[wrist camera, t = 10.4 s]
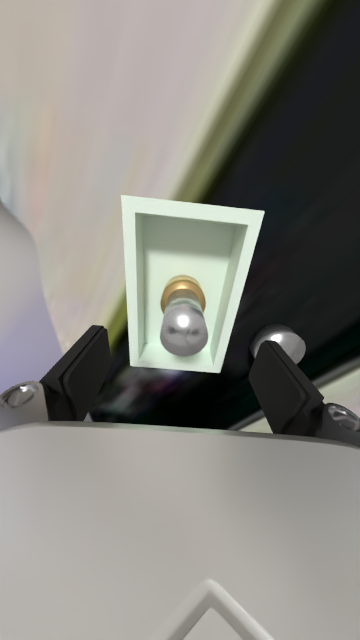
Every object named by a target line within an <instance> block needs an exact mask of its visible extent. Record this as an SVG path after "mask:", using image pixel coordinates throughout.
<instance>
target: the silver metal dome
mask: <svg viewBox="0 0 360 640" xmlns="http://www.w3.org/2000/svg"><path fill="white" fill-rule="evenodd" d="M265 340H272V341H277V342H278V344H279V345H280V346H281V347H282V348H283V350H284V351H285V352H286V353H287V354H288V355H289V357H290V358H291V359H292V360H293V361H294V363H295V364H297V363H298V362H299V361H300V360H301V359H302V357H303V356H304V353H305V343H304V341H303V340H302V339H301V338H300V337H299V336H298V335H297V334H295V333H294V332H293V331H292V330H291V329H290V328H289V327H287V326H285V325H282V324H270V325H267V326H264V327H262V328H261V329H259V330H258V331H257V332H255V333H254V335H253V336H252V338H251V339H250V342H249V349H250V352H251V353H252V355H253V357H254V359H255V357H256V355H257V352H258V349H259V347H260V344H261V343H262V342H264V341H265Z"/></svg>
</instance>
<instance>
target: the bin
mask: <svg viewBox="0 0 360 640" xmlns="http://www.w3.org/2000/svg"><path fill="white" fill-rule="evenodd" d="M121 202H122V220H123V238H124V257H125V275H126V293H127V312H128V330H129V348H130V366H137V367H150V368H163V369H176V370H188V371H201V372H214V373H220V371H221V367H222V363H223V360H224V356H225V353H226V349H227V345H228V342H229V338H230V335H231V331H232V327H233V324H234V320H235V317H236V313H237V309H238V306H239V302H240V298H241V295H242V291H243V288H244V284H245V280H246V277H247V273H248V270H249V266H250V262H251V259H252V255H253V252H254V248H255V244H256V241H257V237H258V234H259V230H260V226H261V223H262V219H263V215H264V212H265V211H258V210H249V209H240V208H231V207H223V206H214V205H205V204H196V203H187V202H178V201H170V200H161V199H152V198H143V197H134V196H125V195H121ZM178 275H188V276H191V277H193V278H195V279H196V280H197V281H198V282H199V284H200V285H201V288H202V290H203V293H204V296H205V300H206V307H205V310H204V312H203V316H204V319H205V323H206V327H207V331H208V341H207V344H206V346H205V347H204V348H203V349H202V350H201V351H200V352H198V353H197V354H194V355H191V356H185V357H183V356H176V355H173V354H171V353H169V352H168V351H167V350H166V349H165V348H164V347H163V346H162V344H161V341H160V331H161V327H162V322H163V317H164V314H163V312H162V310H161V305H160V302H161V297H162V293H163V290H164V287H165V285H166V283H167V282H168V281H169V280H170V279H171V278H173V277H175V276H178Z"/></svg>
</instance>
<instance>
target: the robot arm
mask: <svg viewBox="0 0 360 640" xmlns="http://www.w3.org/2000/svg"><path fill="white" fill-rule="evenodd" d="M110 368H111V358H110V349H109V341H108V333H107V329H104V326H98V325H92V326H91V327H90V328H89V329H88V330H87V331H86V332H85V333H84V334H83V335H82V337H81V338H80V339H79V340H78V341H77V342H76V343H75V344H74V345H73V346H72V347H71V348H70V349H69V350H68V351H67V352H66V354H65V355H64V356H63V357H62V358H61V359H60V360H59V361H58V362H57V363H56V364H55V365H54V366H53V367H52V369H50V371H49V372H48V373H47V374H46V375H45V376H44V377H43V378H42V379H41V380H40V381H39V382H36V381H27V382H23V383H20V384H17V385H15V386H12V387H11V388H9V389H7V390H6V391H5V392H3V393H2V394H1V395H0V640H360V418H359V417H358V416H357V415H355V414H354V413H353V412H351V411H350V410H348V409H347V408H345V407H343V406H341V405H338V404H334V403H327V404H324V403H323V401H322V400H323V399H324V397H323V396H322V394H321V393H320V392H319V391H318V390H317V388H316V387H315V386H314V385H313V384H312V383H311V381H310V380H309V379H308V378H307V377H306V375H305V374H304V373H303V372H302V371H301V370H300V368H299V367H298V366H297V365H296V364H295V363H294V361H293V360H292V359H291V358H290V357H289V355H288V354H287V353H286V352H285V351H284V350H283V348H282V347H281V346H280V345H279V344H278V342H277V341H272V340H265V341H264V342H262V343H261V344H260V347H259V349H258V352H257V355H256V357H255V360H254V362H253V365H252V368H251V370H250V373H249V381H250V383H251V385H252V387H253V389H254V392H255V394H256V396H257V398H258V401H259V403H260V405H261V407H262V410H263V412H264V414H265V416H266V419H267V421H268V423H269V425H270V427H271V430H272V432H273V434H271V433H257V432H243V431H229V430H215V429H200V428H185V427H170V426H154V425H137V424H121V423H104V422H83V420H84V419H85V417H86V415H87V413H88V411H89V409H90V407H91V405H92V403H93V401H94V399H95V397H96V396H97V394H98V392H99V390H100V388H101V386H102V384H103V382H104V380H105V378H106V376H107V374H108V372H109V370H110Z"/></svg>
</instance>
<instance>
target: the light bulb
mask: <svg viewBox="0 0 360 640" xmlns="http://www.w3.org/2000/svg"><path fill="white" fill-rule="evenodd" d="M160 305H161V310H162V312H163V314H164V317H163V322H162V327H161V331H160V341H161V344H162V346H163V347H164V348H165V349H166V350H167V351H168V352H169V353H171V354H173V355H176V356H183V357H185V356H191V355H194V354H197V353H198V352H200V351H201V350H202V349H203V348H204V347H205V346H206V344H207V341H208V331H207V327H206V323H205V319H204V316H203V312H204V310H205V307H206V300H205V296H204V293H203V290H202V288H201V285H200V284H199V282H198V281H197V280H196V279H195V278H193V277H191V276H188V275H178V276H175V277H173V278H171V279H170V280H169V281H168V282H167V283H166V285H165V287H164V290H163V293H162V297H161V302H160Z"/></svg>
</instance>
